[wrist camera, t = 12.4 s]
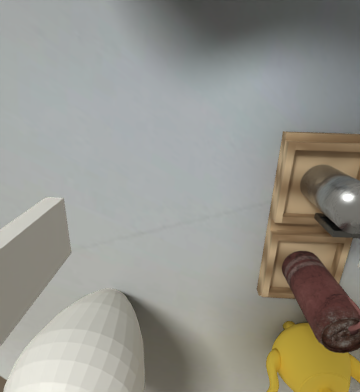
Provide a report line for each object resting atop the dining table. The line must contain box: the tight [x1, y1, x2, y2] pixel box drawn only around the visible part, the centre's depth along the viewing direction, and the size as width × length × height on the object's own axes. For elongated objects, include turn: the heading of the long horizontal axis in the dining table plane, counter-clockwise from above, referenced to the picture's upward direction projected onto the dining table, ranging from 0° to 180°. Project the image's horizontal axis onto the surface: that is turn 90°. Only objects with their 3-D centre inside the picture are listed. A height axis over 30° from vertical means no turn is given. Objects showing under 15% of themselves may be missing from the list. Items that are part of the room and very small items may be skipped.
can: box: [282, 251, 360, 353], centre depth 37 cm, size 6×6×14 cm
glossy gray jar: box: [300, 164, 360, 238], centre depth 34 cm, size 6×6×10 cm
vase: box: [4, 288, 145, 392], centre depth 38 cm, size 18×18×25 cm
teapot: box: [266, 321, 360, 392], centre depth 46 cm, size 20×15×12 cm
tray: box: [257, 132, 360, 299], centre depth 41 cm, size 28×12×3 cm, turn 178°
